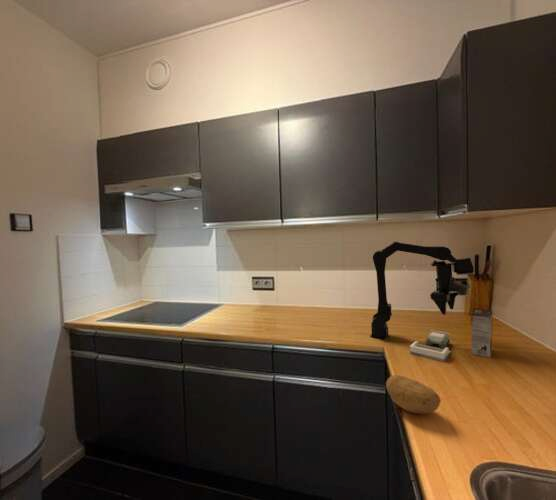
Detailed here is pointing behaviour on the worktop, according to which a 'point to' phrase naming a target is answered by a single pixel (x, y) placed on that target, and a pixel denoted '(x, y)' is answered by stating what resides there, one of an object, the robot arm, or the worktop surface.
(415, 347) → the dock
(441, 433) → the worktop surface
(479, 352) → the coffee box
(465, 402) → the worktop surface
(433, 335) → the trolley
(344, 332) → the worktop surface
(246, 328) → the worktop surface
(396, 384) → the potato
